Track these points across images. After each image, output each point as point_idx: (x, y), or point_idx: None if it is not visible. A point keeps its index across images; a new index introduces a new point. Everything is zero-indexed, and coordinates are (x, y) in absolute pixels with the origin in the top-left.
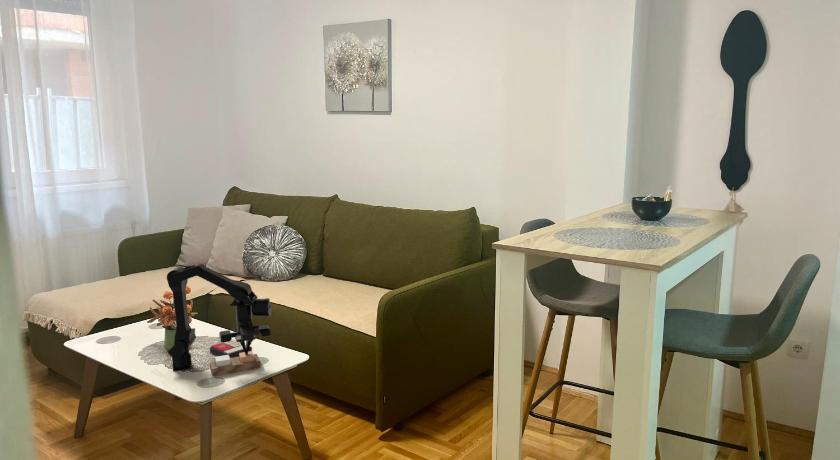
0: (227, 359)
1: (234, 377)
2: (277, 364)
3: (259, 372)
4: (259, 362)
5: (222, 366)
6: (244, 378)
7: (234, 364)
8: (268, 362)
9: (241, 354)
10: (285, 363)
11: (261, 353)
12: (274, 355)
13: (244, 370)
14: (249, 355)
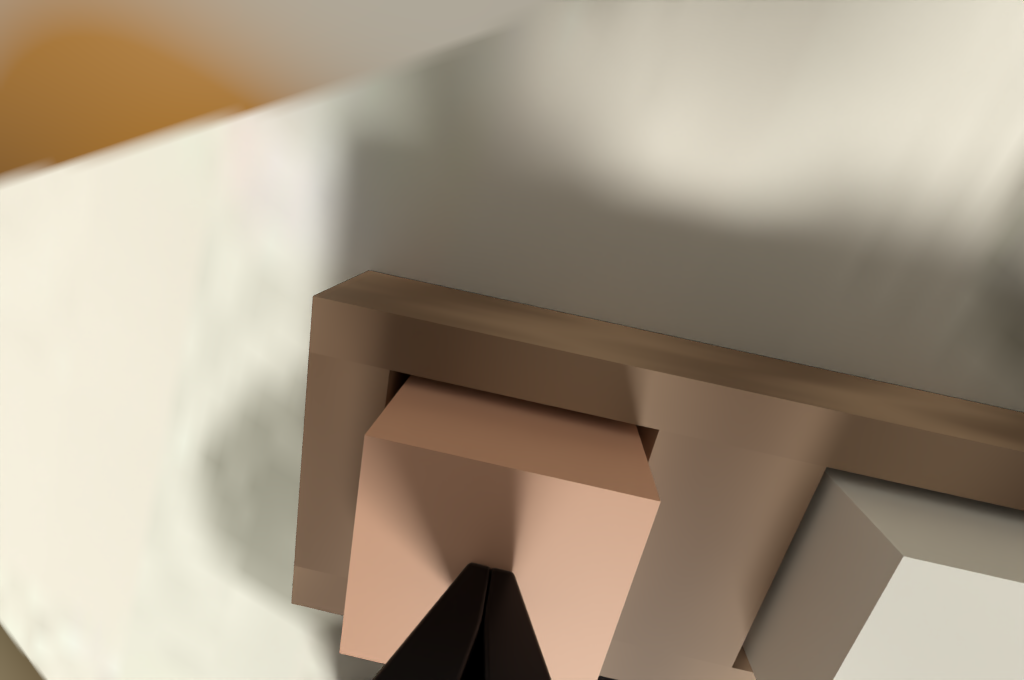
0: (953, 583)
1: (848, 176)
2: (123, 250)
3: (436, 120)
4: (343, 294)
5: (1005, 484)
6: (743, 18)
7: (784, 432)
8: (224, 393)
9: (574, 632)
10: (10, 212)
11: (243, 666)
12: (116, 538)
13: (607, 322)
14: (455, 491)
